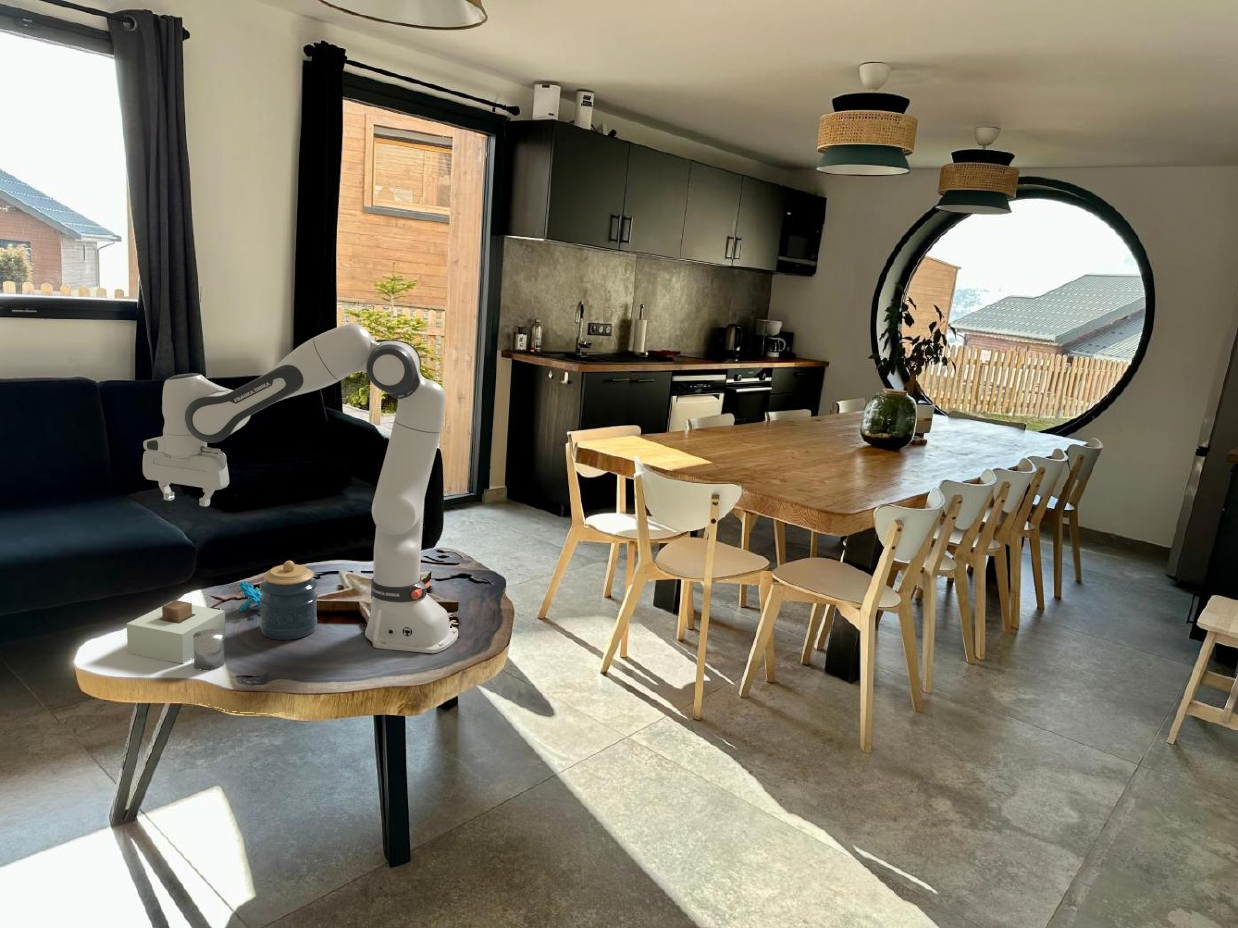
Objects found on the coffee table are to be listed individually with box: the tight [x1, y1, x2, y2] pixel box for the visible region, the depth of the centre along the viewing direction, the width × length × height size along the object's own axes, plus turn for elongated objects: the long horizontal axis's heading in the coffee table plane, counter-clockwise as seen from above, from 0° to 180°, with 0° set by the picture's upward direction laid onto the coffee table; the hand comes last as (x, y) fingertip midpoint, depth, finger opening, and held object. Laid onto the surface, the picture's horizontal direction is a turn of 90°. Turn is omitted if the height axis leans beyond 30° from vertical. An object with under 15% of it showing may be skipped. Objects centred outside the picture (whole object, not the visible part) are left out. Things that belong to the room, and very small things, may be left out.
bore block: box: [126, 600, 226, 665], centre depth 191 cm, size 14×14×7 cm
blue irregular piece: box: [239, 581, 262, 613], centre depth 214 cm, size 11×6×10 cm
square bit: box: [161, 599, 193, 624], centre depth 191 cm, size 4×4×10 cm
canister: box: [259, 560, 318, 641], centre depth 203 cm, size 13×13×18 cm
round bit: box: [193, 629, 225, 671], centre depth 184 cm, size 6×6×7 cm
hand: (186, 502), depth 194 cm, fingers open, 8 cm apart
